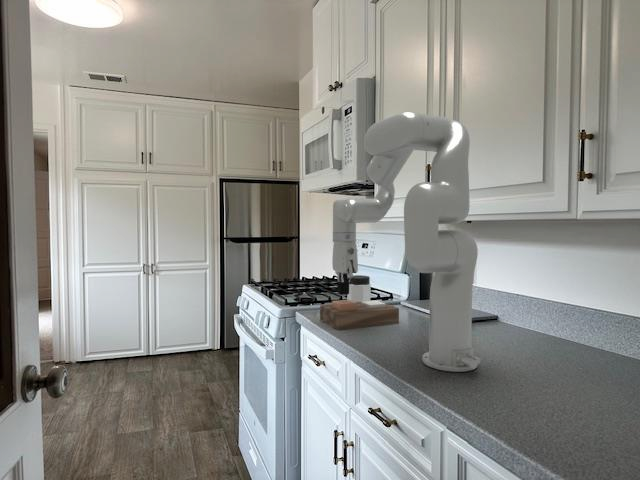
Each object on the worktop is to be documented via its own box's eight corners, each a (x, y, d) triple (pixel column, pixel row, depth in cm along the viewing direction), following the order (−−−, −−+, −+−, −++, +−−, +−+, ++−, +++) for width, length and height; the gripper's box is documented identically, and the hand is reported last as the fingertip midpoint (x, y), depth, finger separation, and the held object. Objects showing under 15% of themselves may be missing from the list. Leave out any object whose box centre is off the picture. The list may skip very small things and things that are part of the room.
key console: (398, 323, 139) (398, 308, 139) (337, 330, 131) (337, 314, 131) (377, 314, 152) (377, 300, 152) (320, 319, 144) (320, 305, 143)
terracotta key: (356, 314, 138) (356, 302, 137) (339, 315, 135) (339, 304, 135) (348, 310, 143) (348, 299, 143) (331, 311, 141) (331, 300, 141)
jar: (358, 304, 169) (358, 274, 168) (374, 307, 163) (374, 276, 163) (342, 308, 163) (342, 276, 162) (359, 311, 157) (359, 279, 156)
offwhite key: (385, 314, 142) (385, 303, 142) (370, 316, 140) (370, 305, 139) (376, 310, 147) (376, 300, 147) (361, 312, 145) (361, 301, 145)
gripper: (365, 239, 133) (364, 297, 134) (344, 236, 146) (344, 289, 147) (343, 239, 130) (343, 299, 131) (324, 236, 143) (324, 290, 145)
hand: (343, 293), depth 139 cm, fingers closed
